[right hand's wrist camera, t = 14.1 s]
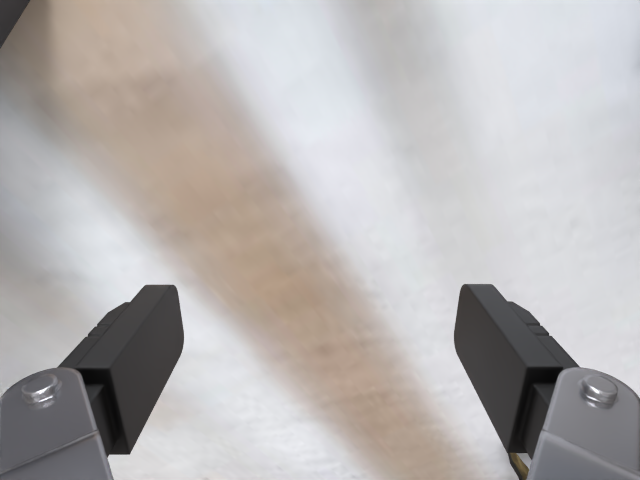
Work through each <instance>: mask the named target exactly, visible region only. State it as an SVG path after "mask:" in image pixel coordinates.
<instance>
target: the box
mask: <svg viewBox="0 0 640 480" xmlns="http://www.w3.org/2000/svg"><path fill="white" fill-rule="evenodd" d="M29 1H30V0H0V48H1V46H2V45H3V43H4V42H5V40H6V38H7V37H8V35H9V33H10V32H11V30H12V29H13V27H14V25H15V24H16V22H17V21H18V19H19V17H20V16H21V14H22V12H23V11H24V9H25V8H26V6H27V4H28V3H29Z"/></svg>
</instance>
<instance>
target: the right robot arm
mask: <svg viewBox="0 0 640 480" xmlns="http://www.w3.org/2000/svg"><path fill="white" fill-rule="evenodd" d="M454 343H455V349H456V352H457V355H458V357H459V359H460V361H461V363H462V365H463V367H464V369H465V371H466V373H467V375H468V377H469V378H470V380H471V382H472V384H473V386H474V388H475V390H476V392H477V394H478V396H479V398H480V400H481V402H482V404H483V406H484V408H485V410H486V412H487V414H488V416H489V418H490V420H491V422H492V424H493V426H494V428H495V430H496V432H497V434H498V436H499V438H500V440H501V442H502V444H503V446H504V447H505V449H506V451H507V453H528V455H529V457H530V458H531V460H532V463H531V466H530V469H529V473H528V476H527V479H526V480H640V398H639V397H638V395H637V394H636V393H635V392H634V391H633V390H632V389H631V388H630V387H628V386H627V385H626V384H624V383H623V382H621V381H620V380H618V379H616V378H614V377H612V376H610V375H608V374H605V373H603V372H600V371H596V370H593V369H588V368H580V367H579V366H578V364H577V363H576V362H575V361H574V360H573V359H572V358H571V357H570V356H569V355H568V354H567V352H566V351H565V350H564V349H563V348H562V347H561V346H560V345H559V344H558V343H557V342H556V340H555V339H554V338H553V337H552V336H549V333H548V332H547V331H546V330H545V328H544V327H543V326H540V323H539V322H538V321H537V320H536V319H535V318H534V316H533V315H532V314H531V313H530V312H529V311H527V310H525V309H524V308H522V307H520V306H519V305H517V304H515V303H514V302H507V301H506V299H505V298H504V297H503V296H502V295H501V294H500V292H499V291H498V290H497V289H496V288H495V287H494V286H493V285H492V284H464V285H463V286H462V287H461V290H460V295H459V302H458V309H457V316H456V323H455V330H454ZM183 344H184V331H183V324H182V317H181V311H180V304H179V297H178V291H177V288H176V287H175V286H174V285H145V286H144V287H143V288H142V289H141V290H140V291H139V293H138V294H137V295H136V296H135V297H134V298H133V300H132V301H131V302H125V303H123V304H122V305H120V306H118V307H117V308H115V309H113V310H112V311H110V312H108V313H107V314H106V315H105V317H104V318H103V319H102V320H101V321H100V322H99V323H98V324H97V327H94V328H93V330H92V331H91V332H90V333H89V334H88V337H85V338H84V339H83V340H82V341H81V342H80V344H79V345H78V346H77V347H76V348H75V349H74V350H73V351H72V352H71V353H70V354H69V355H68V357H67V358H66V359H65V360H64V361H63V362H62V363H61V364H60V365H59V366H58V367H57V368H52V369H47V370H44V371H40V372H37V373H35V374H32V375H30V376H28V377H26V378H24V379H22V380H20V381H19V382H17V383H16V384H14V385H13V386H12V387H10V388H9V389H8V390H7V391H6V392H5V393H4V394H3V395H2V397H1V398H0V480H114V479H113V476H112V473H111V469H110V466H109V463H108V459H107V457H108V456H109V454H130V453H131V451H132V449H133V447H134V445H135V443H136V441H137V439H138V437H139V435H140V433H141V431H142V429H143V427H144V426H145V424H146V422H147V420H148V418H149V416H150V414H151V412H152V410H153V408H154V406H155V404H156V402H157V400H158V398H159V396H160V394H161V392H162V390H163V389H164V387H165V385H166V383H167V381H168V379H169V377H170V375H171V373H172V371H173V369H174V367H175V365H176V363H177V361H178V359H179V357H180V355H181V353H182V349H183Z"/></svg>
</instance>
